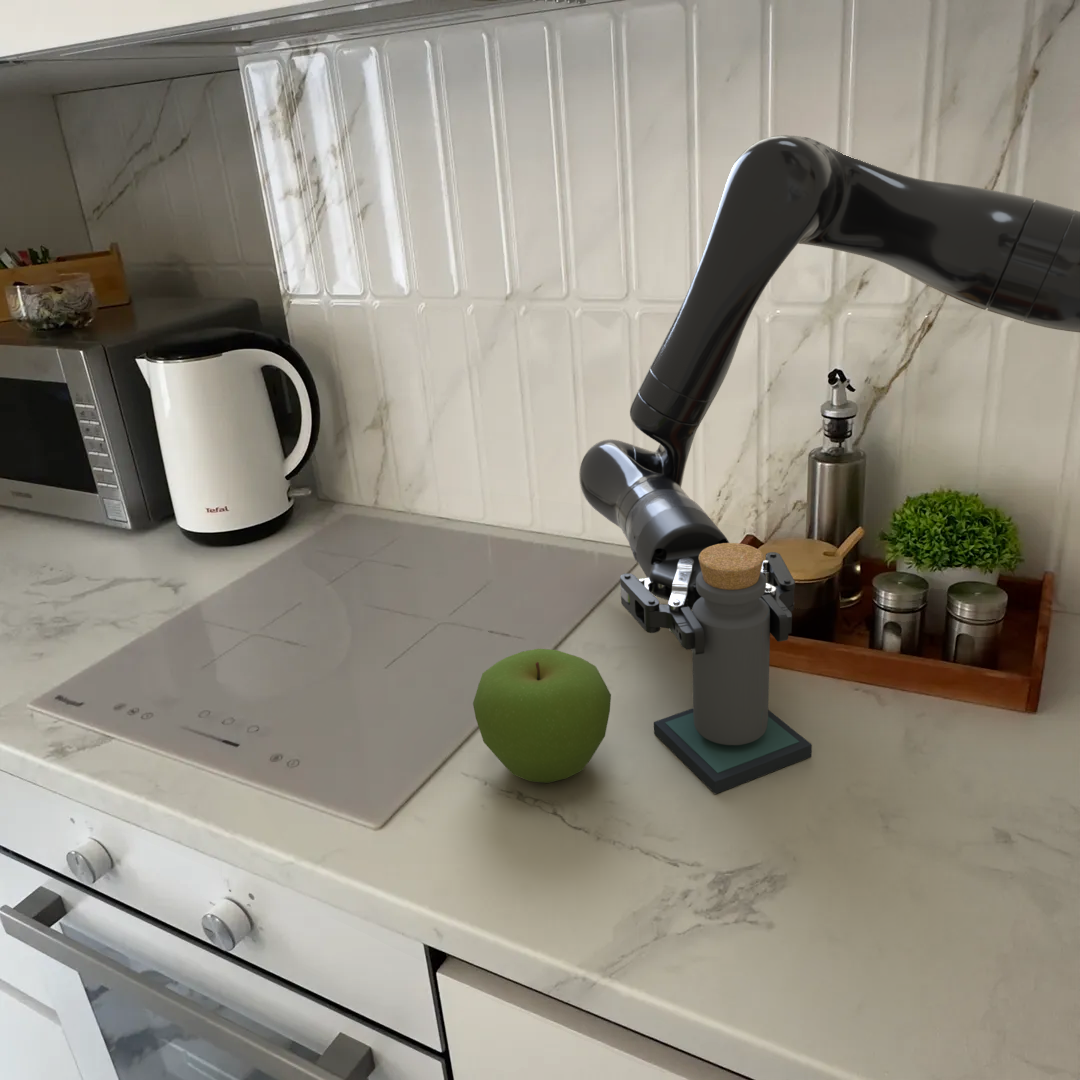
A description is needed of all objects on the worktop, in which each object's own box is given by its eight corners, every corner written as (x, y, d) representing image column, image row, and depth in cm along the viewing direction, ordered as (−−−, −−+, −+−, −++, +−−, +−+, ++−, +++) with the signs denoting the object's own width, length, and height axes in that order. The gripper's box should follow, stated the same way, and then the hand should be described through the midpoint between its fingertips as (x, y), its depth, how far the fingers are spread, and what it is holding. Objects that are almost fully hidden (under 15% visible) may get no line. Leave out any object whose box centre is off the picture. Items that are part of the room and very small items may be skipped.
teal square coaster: (744, 701, 84) (744, 688, 84) (811, 756, 77) (812, 743, 76) (653, 733, 81) (653, 720, 81) (715, 794, 73) (714, 780, 73)
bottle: (709, 696, 82) (708, 534, 75) (778, 713, 79) (782, 546, 72) (681, 734, 77) (677, 565, 71) (752, 754, 74) (755, 580, 68)
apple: (641, 774, 76) (636, 665, 72) (529, 831, 71) (516, 718, 67) (563, 712, 85) (555, 612, 81) (458, 760, 80) (443, 655, 76)
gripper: (595, 516, 84) (646, 607, 69) (753, 494, 86) (837, 577, 71) (599, 592, 88) (649, 695, 72) (752, 569, 89) (832, 665, 74)
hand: (742, 636), depth 72 cm, fingers closed on bottle, 6 cm apart
